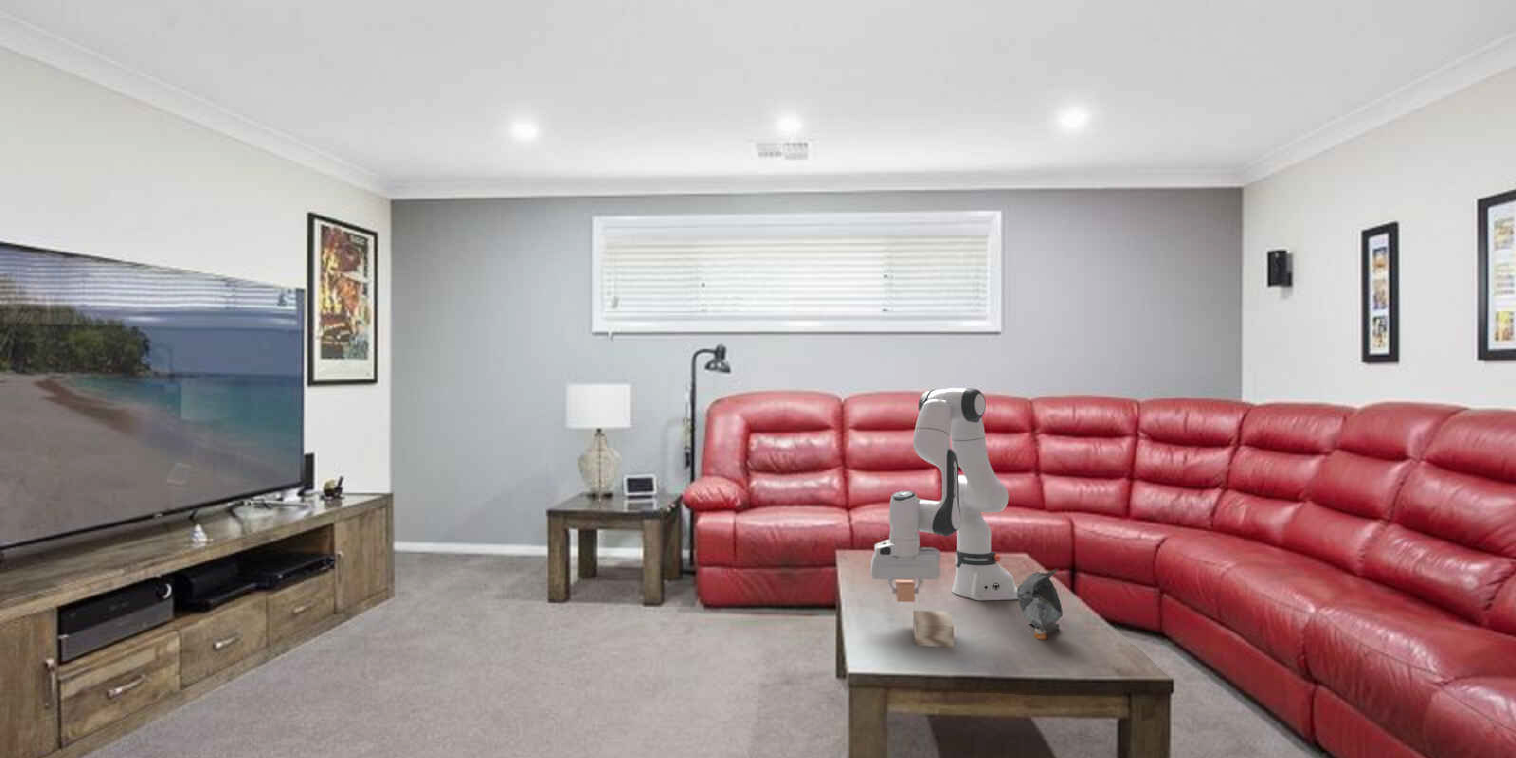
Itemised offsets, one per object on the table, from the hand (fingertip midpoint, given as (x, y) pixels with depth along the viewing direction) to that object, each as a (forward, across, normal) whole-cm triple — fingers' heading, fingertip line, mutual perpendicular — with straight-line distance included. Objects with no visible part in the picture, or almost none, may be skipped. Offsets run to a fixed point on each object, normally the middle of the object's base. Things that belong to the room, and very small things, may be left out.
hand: (905, 593), depth 226 cm
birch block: (+9, -6, +12) cm, 17 cm away
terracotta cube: (+2, 0, 0) cm, 2 cm away
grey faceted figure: (+10, -37, +7) cm, 39 cm away
